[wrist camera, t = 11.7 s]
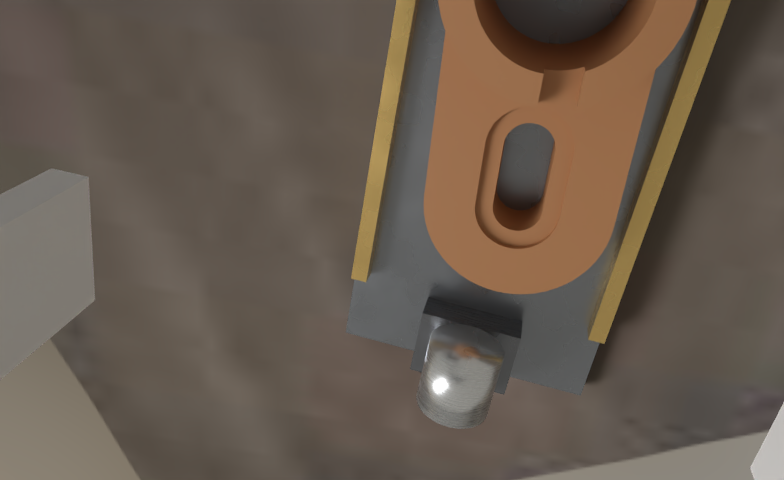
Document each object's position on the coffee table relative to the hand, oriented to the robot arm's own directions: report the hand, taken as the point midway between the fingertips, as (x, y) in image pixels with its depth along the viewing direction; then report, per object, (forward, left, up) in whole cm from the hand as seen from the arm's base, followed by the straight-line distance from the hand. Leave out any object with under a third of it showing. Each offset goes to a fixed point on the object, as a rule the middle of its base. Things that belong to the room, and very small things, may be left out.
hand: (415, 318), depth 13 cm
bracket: (0, +2, -21) cm, 21 cm away
